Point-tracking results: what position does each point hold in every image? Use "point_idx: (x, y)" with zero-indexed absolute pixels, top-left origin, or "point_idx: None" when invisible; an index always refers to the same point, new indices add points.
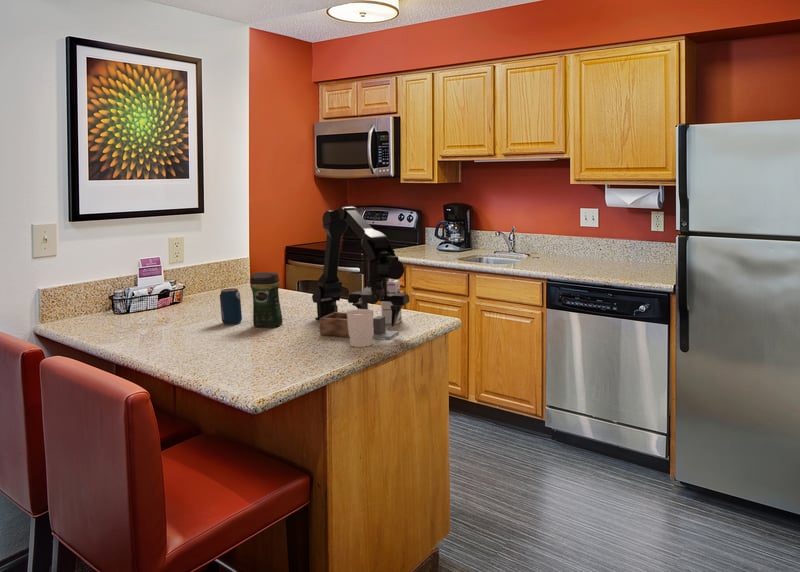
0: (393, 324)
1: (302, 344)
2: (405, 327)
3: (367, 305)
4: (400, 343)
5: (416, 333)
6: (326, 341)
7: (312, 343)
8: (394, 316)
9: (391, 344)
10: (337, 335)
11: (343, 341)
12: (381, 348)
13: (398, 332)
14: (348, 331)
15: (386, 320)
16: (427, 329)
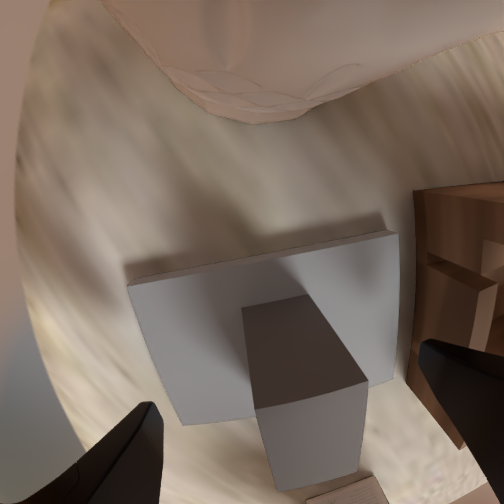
0: (133, 412)
1: None
2: (240, 489)
3: (496, 487)
4: (20, 214)
5: None
6: (479, 75)
7: (490, 38)
8: (76, 463)
9: (49, 158)
10: (497, 182)
11: (420, 86)
12: (67, 47)
13: (182, 418)
14: (475, 190)
15: (359, 493)
16: None
